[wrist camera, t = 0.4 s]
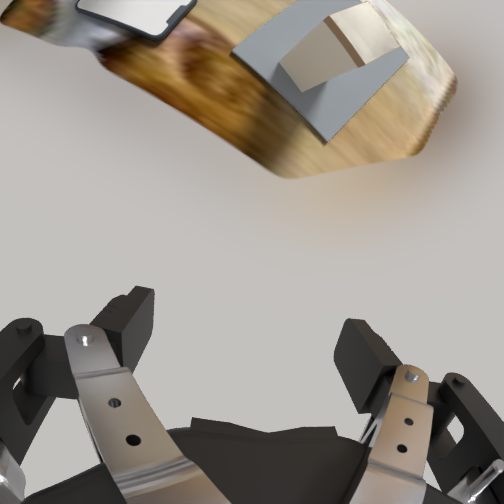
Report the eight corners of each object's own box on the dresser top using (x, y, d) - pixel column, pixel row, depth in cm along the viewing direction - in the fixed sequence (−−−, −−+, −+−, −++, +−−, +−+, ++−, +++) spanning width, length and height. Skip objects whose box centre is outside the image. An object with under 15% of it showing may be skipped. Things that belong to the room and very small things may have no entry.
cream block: (301, 93, 32) (365, 65, 18) (277, 61, 30) (328, 15, 16) (330, 75, 31) (401, 46, 17) (307, 45, 29) (368, 0, 15)
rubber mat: (231, 51, 29) (232, 50, 28) (334, -21, 26) (335, -22, 25) (326, 141, 35) (328, 141, 34) (407, 58, 32) (409, 57, 31)
